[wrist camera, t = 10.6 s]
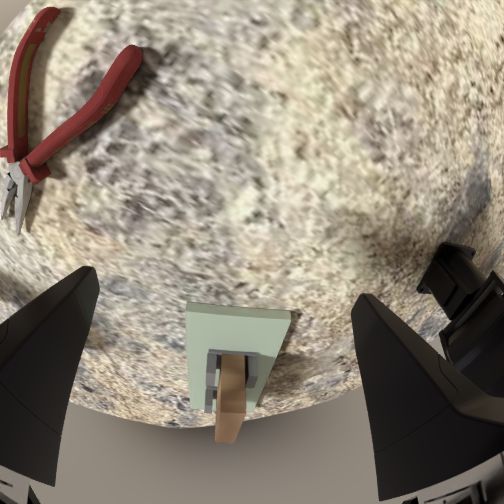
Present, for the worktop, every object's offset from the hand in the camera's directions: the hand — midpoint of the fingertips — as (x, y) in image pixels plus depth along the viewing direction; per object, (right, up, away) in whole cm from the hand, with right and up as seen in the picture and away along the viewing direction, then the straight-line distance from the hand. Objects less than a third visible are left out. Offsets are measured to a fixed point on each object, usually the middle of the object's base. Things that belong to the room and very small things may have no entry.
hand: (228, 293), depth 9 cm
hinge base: (-2, -14, +24) cm, 28 cm away
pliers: (-17, +12, +6) cm, 22 cm away
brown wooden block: (-2, -14, +23) cm, 27 cm away
